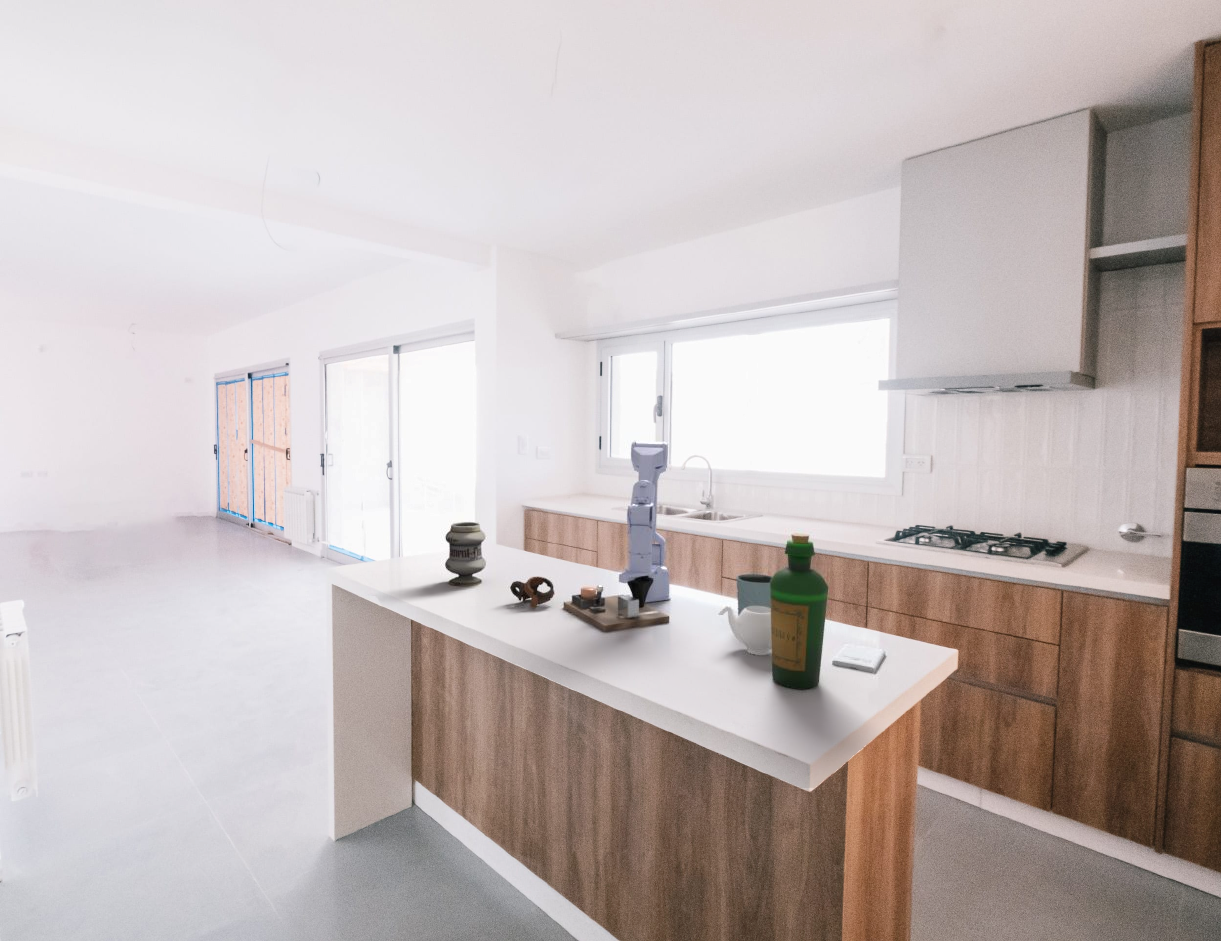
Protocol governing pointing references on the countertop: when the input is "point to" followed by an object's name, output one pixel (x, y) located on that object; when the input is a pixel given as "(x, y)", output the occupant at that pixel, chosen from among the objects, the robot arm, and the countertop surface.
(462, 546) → the apothecary jar
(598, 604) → the toggle lever
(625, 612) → the gray rectangular block
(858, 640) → the countertop surface
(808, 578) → the bottle
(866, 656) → the external hard drive
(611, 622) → the control panel
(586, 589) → the push button
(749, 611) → the teapot
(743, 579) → the blue-gray cylindrical pot
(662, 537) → the robot arm
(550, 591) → the brown curved loop piece
